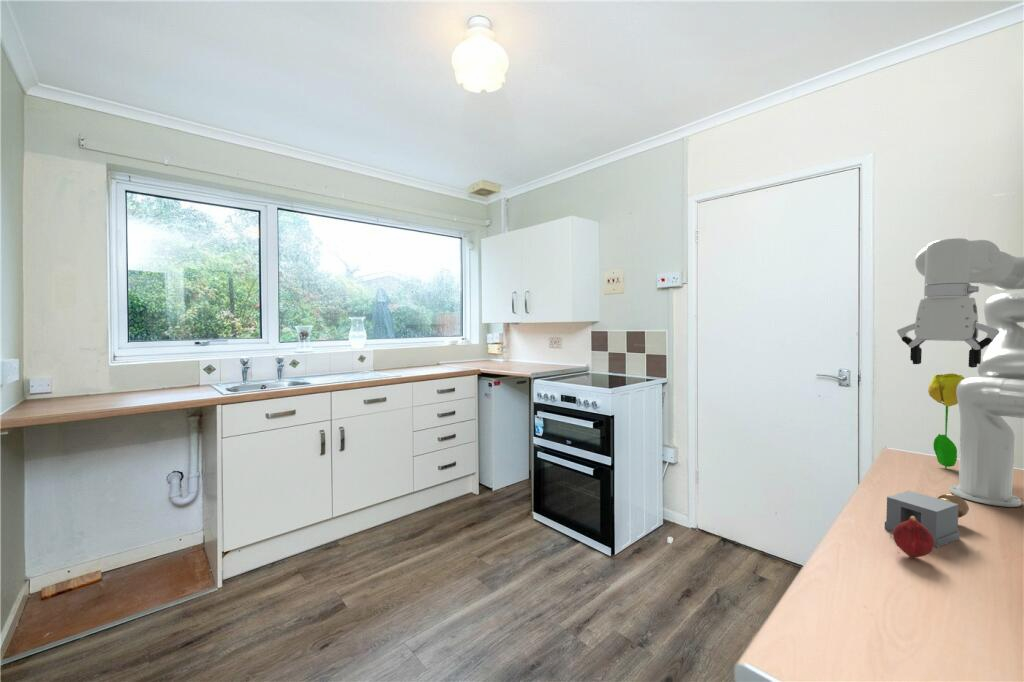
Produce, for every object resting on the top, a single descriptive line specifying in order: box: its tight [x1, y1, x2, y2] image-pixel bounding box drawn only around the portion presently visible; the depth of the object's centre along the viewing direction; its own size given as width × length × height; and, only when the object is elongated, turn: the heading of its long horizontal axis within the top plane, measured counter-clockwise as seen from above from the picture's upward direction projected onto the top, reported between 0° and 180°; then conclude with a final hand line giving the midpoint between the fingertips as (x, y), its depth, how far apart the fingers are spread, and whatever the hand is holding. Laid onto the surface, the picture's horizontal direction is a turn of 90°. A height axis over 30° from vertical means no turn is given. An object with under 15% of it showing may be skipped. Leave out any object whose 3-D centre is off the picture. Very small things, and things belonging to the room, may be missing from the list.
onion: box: [892, 516, 935, 559], centre depth 83 cm, size 6×6×8 cm
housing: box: [884, 490, 961, 548], centre depth 93 cm, size 9×9×7 cm
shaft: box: [919, 493, 970, 519], centre depth 96 cm, size 13×5×5 cm, turn 114°
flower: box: [927, 372, 965, 469], centre depth 136 cm, size 9×8×30 cm
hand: (943, 365), depth 102 cm, fingers open, 9 cm apart
